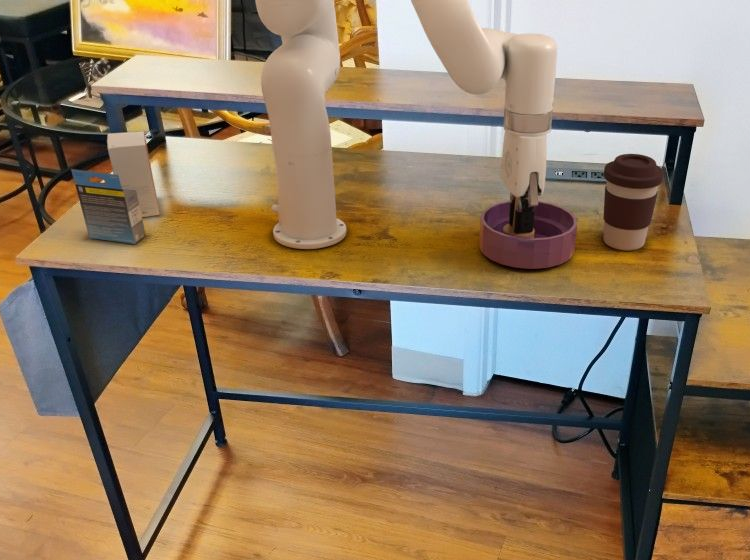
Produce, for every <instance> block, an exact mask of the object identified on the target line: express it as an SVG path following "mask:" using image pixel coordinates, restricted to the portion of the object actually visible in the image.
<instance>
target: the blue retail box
mask: <svg viewBox="0 0 750 560" xmlns="http://www.w3.org/2000/svg"><path fill="white" fill-rule="evenodd" d="M70 171H71V173H72V178H73V179H72V180H73V182H74V185H75V186H74V187H75V190H76V192H77V197H78V200H79V204H80V208H81V211H82V216H83V219H84V223H85V227H86V231H87V234H88V238H89V239H91V240H101V241H108V242H109V241H110V242H117V243H125V244H130V245H131V244H132V245H136V244H138V243H139V242H140V241H141V240H143V239H144V238H145V237H146V231H145V230H146V229H145V226H144V220H143V217H142V215H141V211H140V206H139V202H138V197H137V192H136V190H130V189H123V188H122V186H121V183H120V179H119V175H117V174H113V173H105V172H98V171H91V170H81V169H75V168H70ZM95 178H97V179H98V180H103V181H104V182H100V181H91V180H90V179H95Z"/></svg>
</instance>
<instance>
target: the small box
mask: <svg viewBox="0 0 750 560" xmlns="http://www.w3.org/2000/svg"><path fill="white" fill-rule="evenodd" d="M106 144H107V151H108V157H109V160H110V161H109V162H110V165H111V169H112V174H117V175H119V179H120V183H121V186H122V188H123V189H130V190H136V192H137V197H138V202H139V206H140V211H141V215H142V218H147V217H154V216H155V217H156V216H159V215H160V208H159V203H158V196H157V192H156V191H157V190H156V185H155V180H154V176H153V170H152V165H151V161H150V155H149V149H148V144H147V139H146V133H145V131H129V132H127V131H126V132H113V133H107V139H106Z"/></svg>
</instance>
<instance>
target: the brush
mask: <svg viewBox="0 0 750 560" xmlns="http://www.w3.org/2000/svg"><path fill="white" fill-rule="evenodd" d="M526 192H528V190H527V191H526ZM527 199H528V198H523V201H524V200H527ZM517 203H518V198H517V197H516V200H515V209H514V219H513V226H510V225H509V224H506V225H505V226H504V227H503V234H506V235H511V236H515V237H522V238H534V233H535V230H534V228H533V231H532V232H530V233H518V234H516V233H515V232H514V220H515V210H517Z"/></svg>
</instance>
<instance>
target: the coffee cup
mask: <svg viewBox="0 0 750 560" xmlns="http://www.w3.org/2000/svg"><path fill="white" fill-rule="evenodd" d="M664 176H665V171H664V169H663V168H661V166H659V165H658V164H657V161H656V160H655V159H654V158H652V157H650V156H648V155H645V154H639V153H624V154H620V155H617V156H616V157H615V158H614V159H613V160H612V161H610V162H607V163H606V164H605V165H604V169H603V178H604V179H605V180H606V185H605V186H604V199H603V217H602V218H603V220H604V223H603V242H604V243H605V245H606V246H608V247H610V248H612V249H615V250H619V251H627V252H628V251H629V252H630V251H636V250H638V249H641V248H642V247H644V245H645V243H646V240H647V235H648V232H649V231H648V230H649V227H650V225H651V223H652V220H653V215H654V211H655V206H656V202H657V199H658V194H659V193H658V188H659V186H660V185H661V184H662V183H663V181H664Z"/></svg>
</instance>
